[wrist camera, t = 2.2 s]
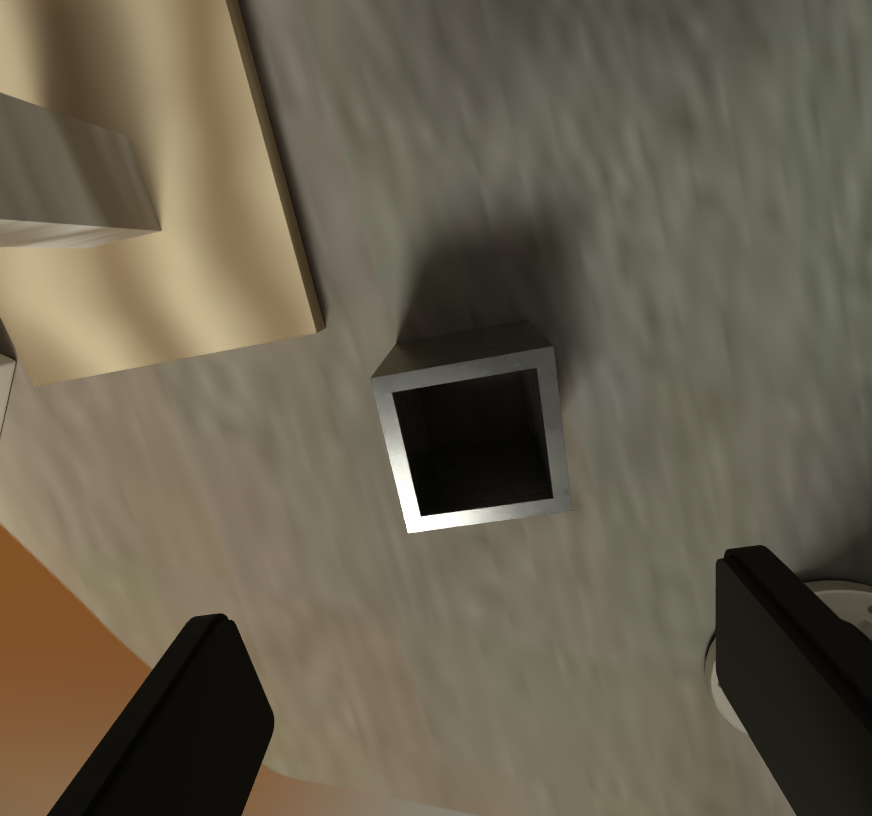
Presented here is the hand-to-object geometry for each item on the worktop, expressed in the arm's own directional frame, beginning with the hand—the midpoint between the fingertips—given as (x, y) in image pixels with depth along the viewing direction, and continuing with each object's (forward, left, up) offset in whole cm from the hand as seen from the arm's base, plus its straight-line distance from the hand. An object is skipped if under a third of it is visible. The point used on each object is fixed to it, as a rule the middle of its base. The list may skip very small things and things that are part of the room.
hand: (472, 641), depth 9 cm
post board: (+15, -13, -17) cm, 26 cm away
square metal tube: (0, 0, -17) cm, 17 cm away
